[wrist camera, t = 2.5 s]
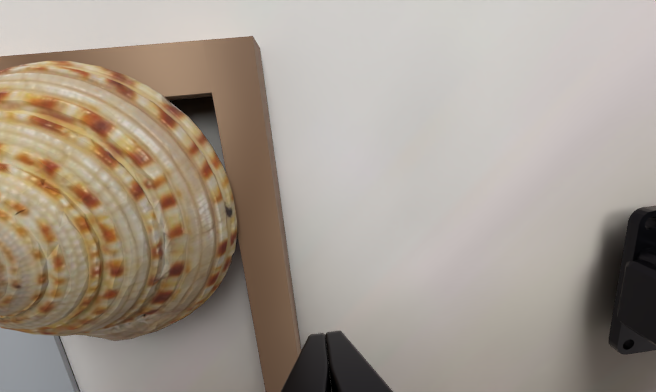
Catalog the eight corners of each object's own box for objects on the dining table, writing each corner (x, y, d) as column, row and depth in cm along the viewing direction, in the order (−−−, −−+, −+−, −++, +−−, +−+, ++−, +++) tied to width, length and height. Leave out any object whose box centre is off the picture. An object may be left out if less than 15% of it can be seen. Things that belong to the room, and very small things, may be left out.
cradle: (259, 47, 10) (252, 36, 9) (311, 426, 15) (312, 463, 13) (-41, 72, 10) (-104, 64, 8) (104, 458, 14) (80, 501, 13)
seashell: (4, 374, 10) (-458, 252, 4) (80, 233, 14) (-113, 59, 8) (250, 358, 11) (138, 219, 5) (263, 223, 14) (210, 45, 8)
